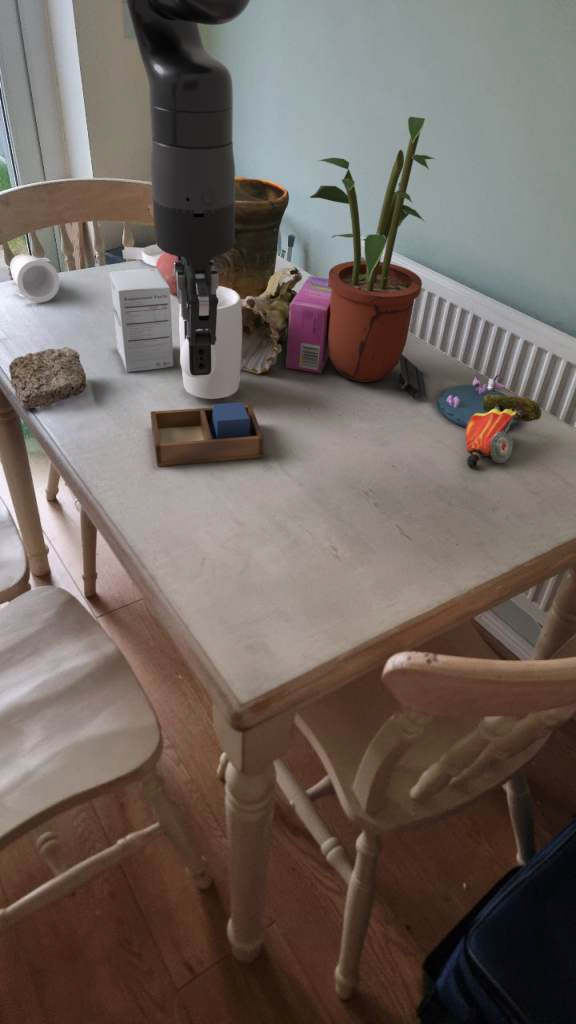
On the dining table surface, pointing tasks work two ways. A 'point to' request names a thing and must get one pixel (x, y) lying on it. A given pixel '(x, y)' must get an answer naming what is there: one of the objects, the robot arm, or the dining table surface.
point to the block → (230, 420)
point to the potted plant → (373, 278)
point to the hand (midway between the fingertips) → (198, 362)
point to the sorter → (200, 438)
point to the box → (309, 326)
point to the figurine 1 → (267, 321)
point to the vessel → (253, 237)
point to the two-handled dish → (143, 254)
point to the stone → (47, 377)
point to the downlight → (34, 277)
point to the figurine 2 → (497, 427)
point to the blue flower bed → (467, 401)
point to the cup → (220, 349)
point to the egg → (185, 359)
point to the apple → (168, 270)
